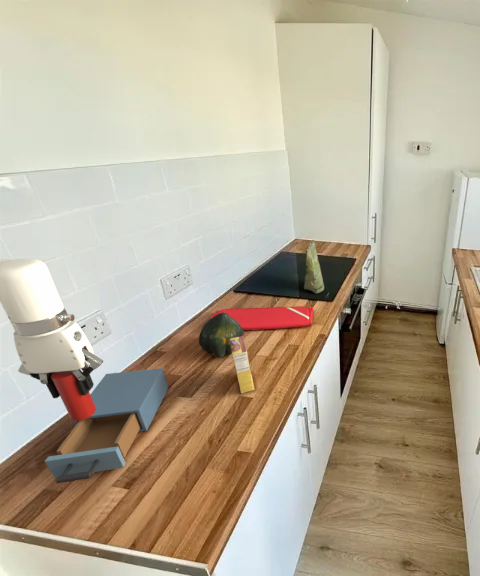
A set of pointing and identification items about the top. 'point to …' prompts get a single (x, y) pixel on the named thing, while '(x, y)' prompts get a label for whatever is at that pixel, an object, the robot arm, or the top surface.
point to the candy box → (241, 364)
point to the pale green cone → (313, 270)
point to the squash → (219, 334)
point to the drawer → (94, 447)
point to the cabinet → (130, 395)
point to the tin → (73, 396)
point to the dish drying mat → (270, 317)
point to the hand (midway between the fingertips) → (73, 391)
